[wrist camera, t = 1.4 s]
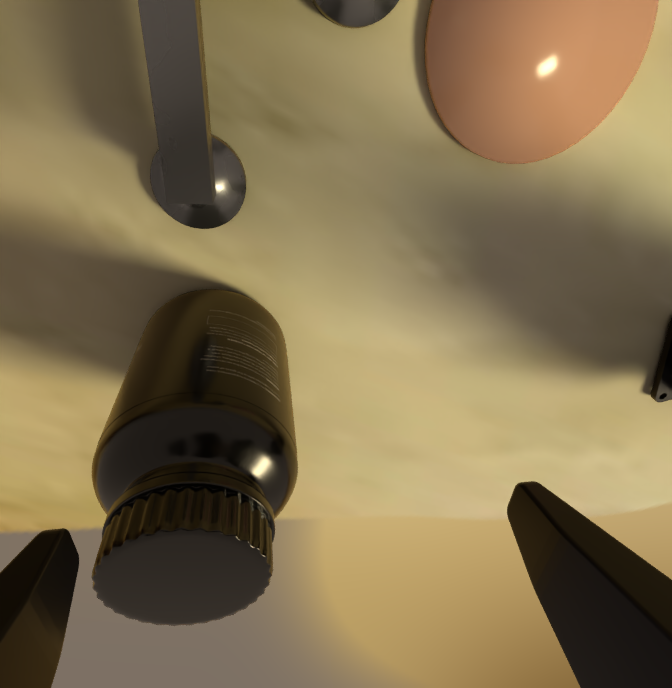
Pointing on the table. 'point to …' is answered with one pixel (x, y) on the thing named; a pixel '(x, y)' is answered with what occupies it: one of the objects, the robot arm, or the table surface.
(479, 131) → the peach domed disc
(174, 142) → the jointed grey bar linkage
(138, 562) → the supplement bottle
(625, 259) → the table surface
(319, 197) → the table surface
